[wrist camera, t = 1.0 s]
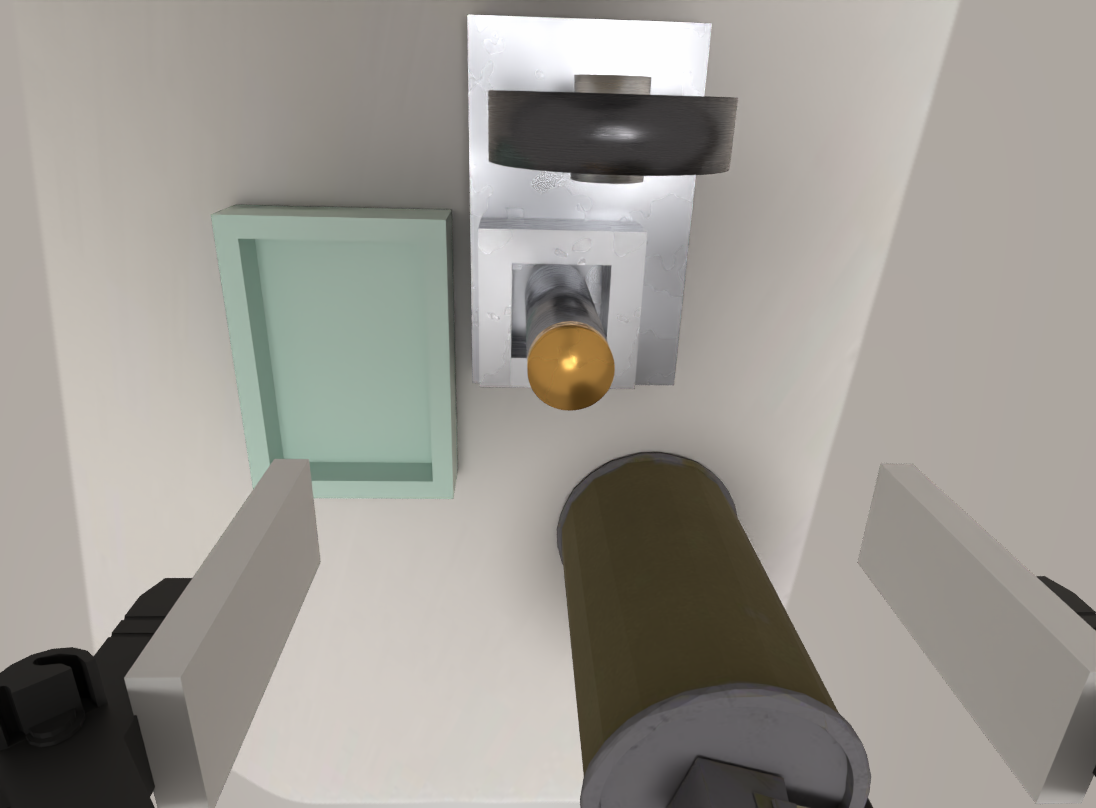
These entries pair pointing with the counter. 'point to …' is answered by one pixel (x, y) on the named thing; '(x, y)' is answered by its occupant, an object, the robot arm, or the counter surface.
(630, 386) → the tensioner
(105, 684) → the robot arm
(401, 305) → the tray
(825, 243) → the counter surface
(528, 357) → the lock pin
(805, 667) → the canister
